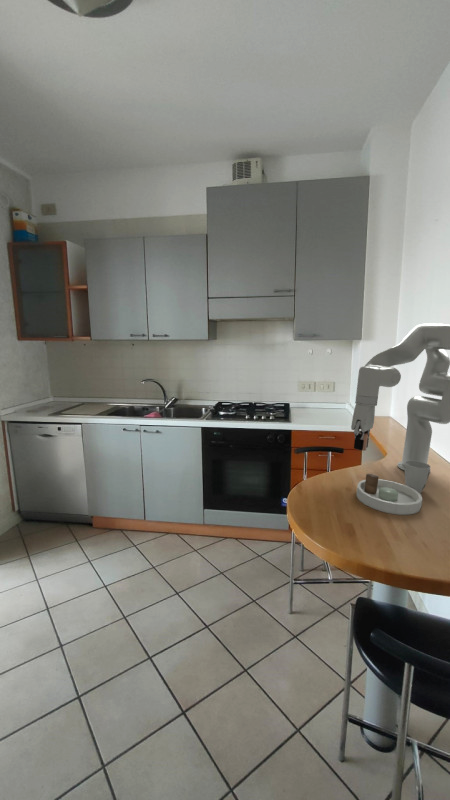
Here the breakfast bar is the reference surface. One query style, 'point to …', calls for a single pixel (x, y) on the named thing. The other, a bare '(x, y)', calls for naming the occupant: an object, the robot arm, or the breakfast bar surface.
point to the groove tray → (396, 507)
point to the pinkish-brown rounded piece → (364, 441)
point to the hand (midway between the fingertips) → (360, 447)
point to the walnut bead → (371, 483)
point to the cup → (416, 475)
